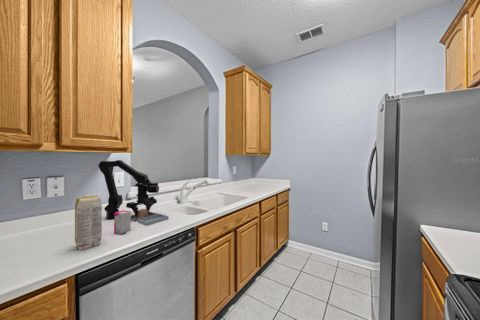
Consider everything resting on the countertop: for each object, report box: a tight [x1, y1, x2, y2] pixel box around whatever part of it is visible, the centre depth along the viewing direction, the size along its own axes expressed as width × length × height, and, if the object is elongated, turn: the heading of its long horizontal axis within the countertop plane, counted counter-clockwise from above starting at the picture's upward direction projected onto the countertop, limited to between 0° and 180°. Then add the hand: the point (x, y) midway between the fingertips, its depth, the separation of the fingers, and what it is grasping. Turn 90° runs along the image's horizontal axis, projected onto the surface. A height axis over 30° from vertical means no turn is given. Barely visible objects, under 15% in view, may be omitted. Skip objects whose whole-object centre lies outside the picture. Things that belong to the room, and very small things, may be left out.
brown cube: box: [137, 208, 148, 218], centre depth 131 cm, size 5×5×5 cm
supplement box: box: [113, 210, 132, 236], centre depth 106 cm, size 6×6×12 cm
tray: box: [137, 213, 169, 227], centre depth 124 cm, size 15×10×2 cm
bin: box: [131, 211, 157, 222], centre depth 131 cm, size 15×10×2 cm
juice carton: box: [74, 193, 103, 251], centre depth 90 cm, size 9×8×24 cm
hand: (142, 215), depth 131 cm, fingers open, 7 cm apart
